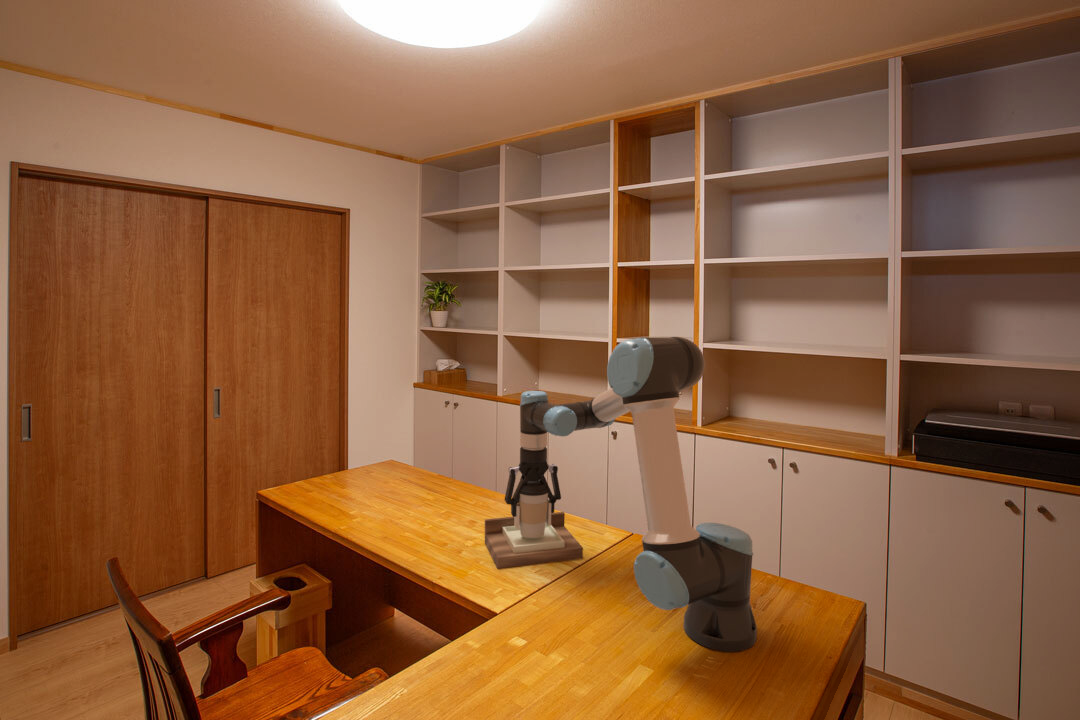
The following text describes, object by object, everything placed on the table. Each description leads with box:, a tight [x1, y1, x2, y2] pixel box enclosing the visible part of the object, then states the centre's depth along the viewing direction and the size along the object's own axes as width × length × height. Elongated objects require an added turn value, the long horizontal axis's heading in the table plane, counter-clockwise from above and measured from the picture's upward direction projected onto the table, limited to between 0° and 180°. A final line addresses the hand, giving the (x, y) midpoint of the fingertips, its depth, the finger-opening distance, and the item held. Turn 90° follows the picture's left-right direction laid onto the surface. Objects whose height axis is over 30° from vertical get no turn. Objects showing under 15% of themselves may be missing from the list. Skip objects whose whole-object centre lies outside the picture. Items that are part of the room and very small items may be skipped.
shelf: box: [484, 511, 584, 569], centre depth 169 cm, size 17×24×7 cm
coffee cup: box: [518, 480, 549, 538], centre depth 168 cm, size 9×9×15 cm
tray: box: [502, 523, 564, 553], centre depth 169 cm, size 14×14×2 cm
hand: (532, 525), depth 168 cm, fingers closed on coffee cup, 8 cm apart
